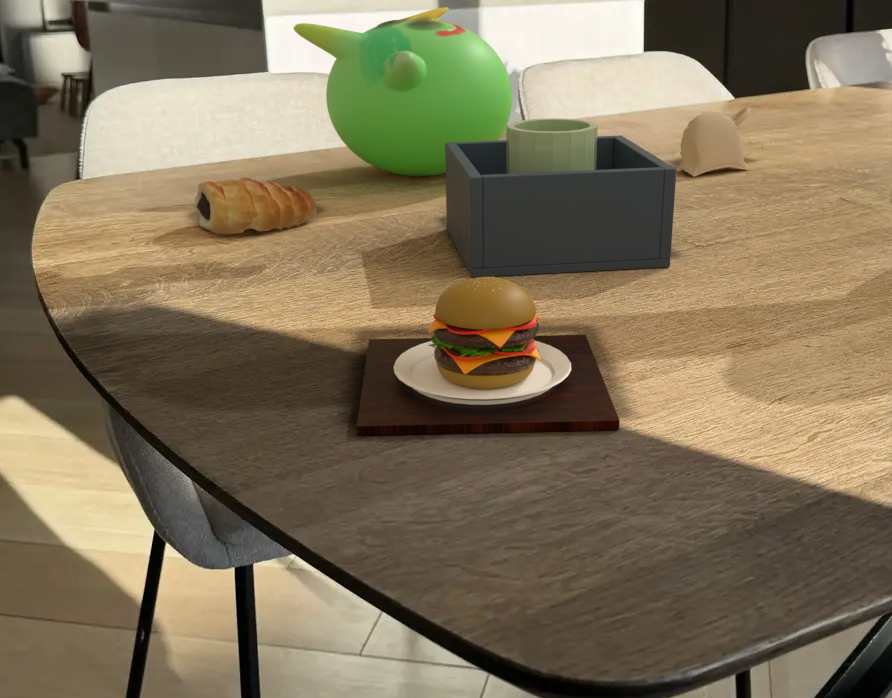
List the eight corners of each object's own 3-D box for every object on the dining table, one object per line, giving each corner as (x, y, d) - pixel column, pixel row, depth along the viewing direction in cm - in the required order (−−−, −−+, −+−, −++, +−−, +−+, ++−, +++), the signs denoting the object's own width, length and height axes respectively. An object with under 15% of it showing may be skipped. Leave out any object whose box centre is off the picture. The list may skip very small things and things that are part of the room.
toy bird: (545, 172, 106) (548, 6, 100) (416, 202, 95) (411, 18, 89) (415, 151, 118) (411, 1, 111) (287, 175, 107) (275, 11, 101)
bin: (617, 221, 88) (621, 135, 85) (670, 267, 75) (676, 168, 73) (446, 229, 86) (444, 142, 84) (471, 277, 74) (470, 177, 71)
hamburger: (369, 347, 62) (364, 250, 60) (585, 342, 62) (588, 245, 60) (357, 435, 51) (350, 321, 49) (618, 429, 51) (625, 315, 49)
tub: (581, 226, 84) (585, 116, 80) (601, 247, 78) (606, 130, 75) (500, 230, 83) (500, 120, 80) (514, 251, 78) (515, 134, 74)
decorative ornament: (665, 170, 106) (668, 112, 104) (734, 161, 109) (739, 105, 107) (691, 177, 102) (695, 117, 100) (763, 168, 106) (768, 110, 104)
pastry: (300, 210, 93) (296, 163, 92) (330, 227, 88) (327, 178, 86) (190, 224, 89) (184, 176, 88) (215, 243, 84) (210, 192, 82)
